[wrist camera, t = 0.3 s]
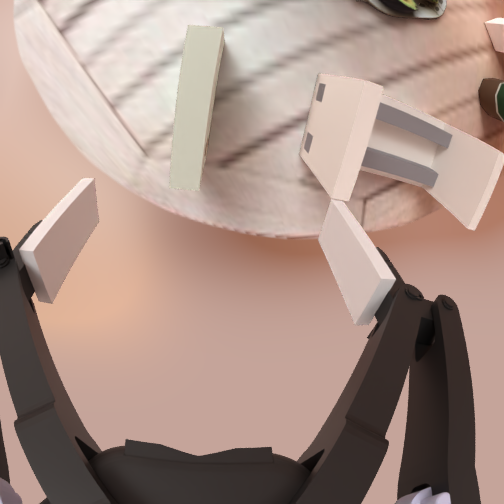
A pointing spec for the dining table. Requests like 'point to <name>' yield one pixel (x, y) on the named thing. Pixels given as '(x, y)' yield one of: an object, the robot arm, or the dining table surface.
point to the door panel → (195, 105)
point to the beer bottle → (492, 97)
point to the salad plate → (410, 8)
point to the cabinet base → (395, 147)
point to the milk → (496, 33)
